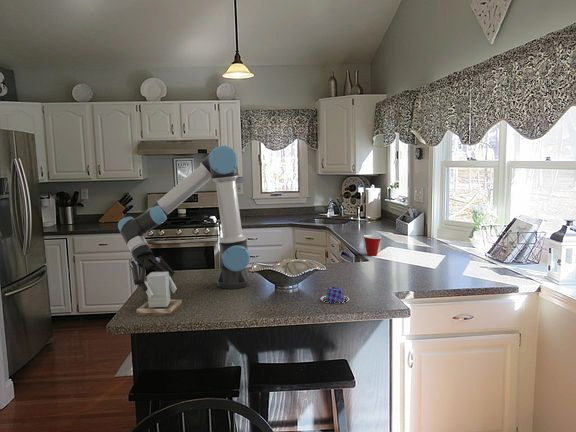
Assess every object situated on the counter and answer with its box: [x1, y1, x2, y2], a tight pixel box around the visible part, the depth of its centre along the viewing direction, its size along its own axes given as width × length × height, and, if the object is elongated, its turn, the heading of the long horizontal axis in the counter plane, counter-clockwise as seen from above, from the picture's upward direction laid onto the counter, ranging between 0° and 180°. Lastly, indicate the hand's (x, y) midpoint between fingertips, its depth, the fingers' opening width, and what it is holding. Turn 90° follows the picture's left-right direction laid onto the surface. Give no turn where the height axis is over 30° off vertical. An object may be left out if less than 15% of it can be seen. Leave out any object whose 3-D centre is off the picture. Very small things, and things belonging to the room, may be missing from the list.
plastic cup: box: [363, 234, 382, 257], centre depth 283 cm, size 11×11×12 cm
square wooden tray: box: [135, 299, 184, 316], centre depth 187 cm, size 14×14×2 cm
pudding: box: [320, 286, 350, 304], centre depth 195 cm, size 12×12×5 cm
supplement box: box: [146, 271, 172, 308], centre depth 186 cm, size 7×7×13 cm
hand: (163, 293), depth 184 cm, fingers closed on supplement box, 10 cm apart
